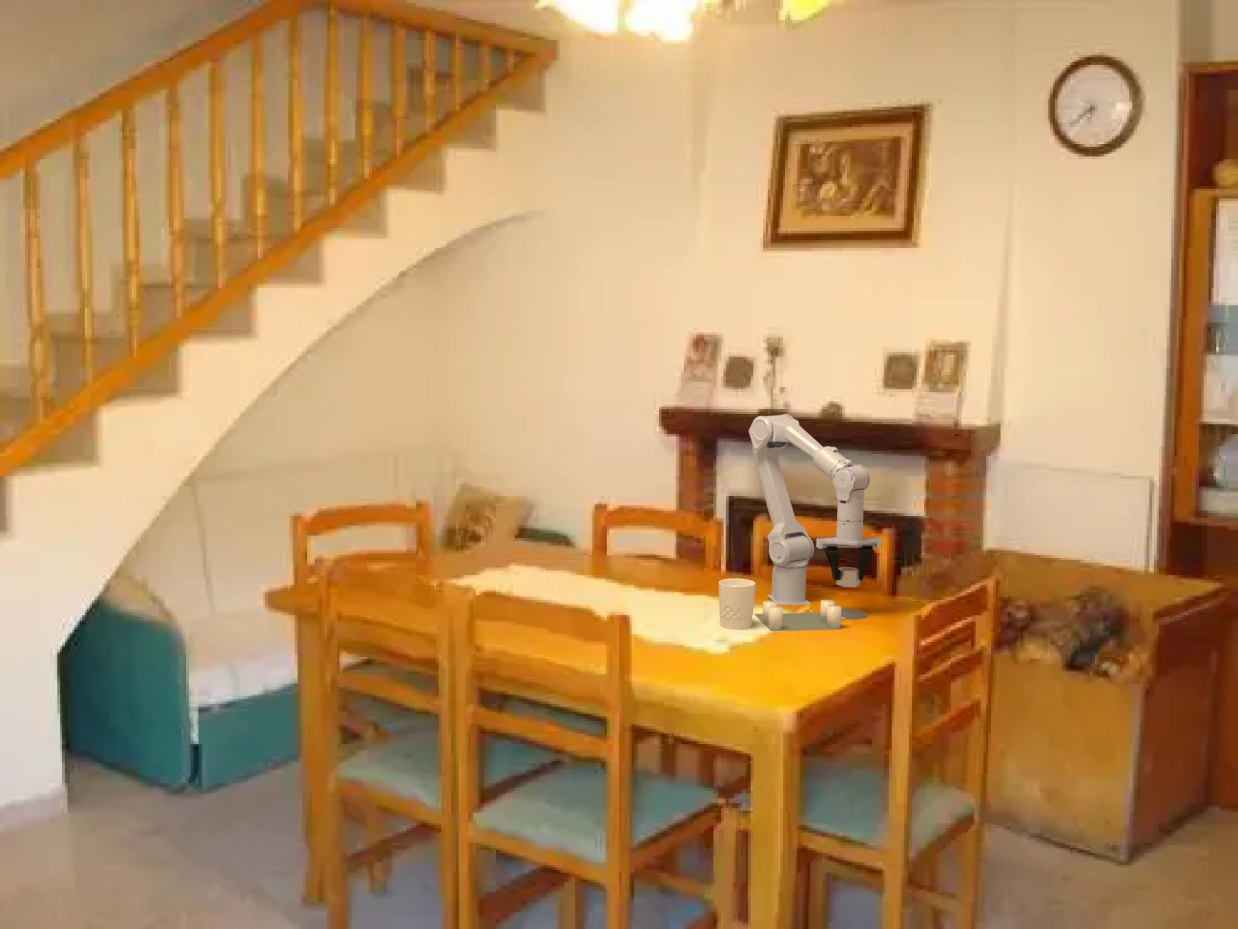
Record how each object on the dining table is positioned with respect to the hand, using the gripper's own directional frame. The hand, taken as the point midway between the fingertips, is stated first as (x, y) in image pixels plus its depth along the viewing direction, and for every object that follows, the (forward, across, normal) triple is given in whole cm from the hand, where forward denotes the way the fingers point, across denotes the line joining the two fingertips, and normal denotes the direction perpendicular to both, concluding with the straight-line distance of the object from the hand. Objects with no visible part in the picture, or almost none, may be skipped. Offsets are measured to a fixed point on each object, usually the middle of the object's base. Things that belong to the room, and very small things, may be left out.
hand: (847, 579), depth 316 cm
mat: (+8, -13, -6) cm, 16 cm away
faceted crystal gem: (+1, 0, 0) cm, 1 cm away
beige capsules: (+8, -13, -9) cm, 17 cm away
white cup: (+9, -27, -8) cm, 30 cm away
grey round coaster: (+8, 0, 0) cm, 8 cm away
